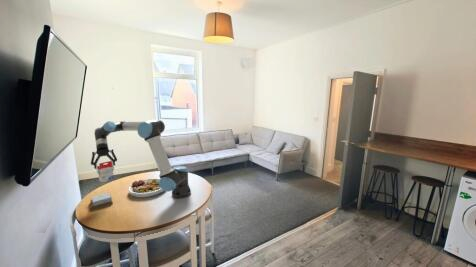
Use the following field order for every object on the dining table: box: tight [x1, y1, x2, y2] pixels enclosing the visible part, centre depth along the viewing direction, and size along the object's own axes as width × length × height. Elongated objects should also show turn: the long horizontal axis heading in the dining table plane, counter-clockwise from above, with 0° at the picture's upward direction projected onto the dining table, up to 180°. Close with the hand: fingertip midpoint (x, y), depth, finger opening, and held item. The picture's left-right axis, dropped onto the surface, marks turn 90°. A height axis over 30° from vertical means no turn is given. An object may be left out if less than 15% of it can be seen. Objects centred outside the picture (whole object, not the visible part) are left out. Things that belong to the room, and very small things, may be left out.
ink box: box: [97, 160, 115, 183], centre depth 152 cm, size 8×5×15 cm, turn 140°
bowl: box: [128, 177, 165, 198], centre depth 174 cm, size 30×30×8 cm
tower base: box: [90, 194, 113, 211], centre depth 153 cm, size 13×13×3 cm
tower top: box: [91, 192, 113, 206], centre depth 152 cm, size 11×11×3 cm
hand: (105, 170), depth 149 cm, fingers closed on ink box, 9 cm apart
